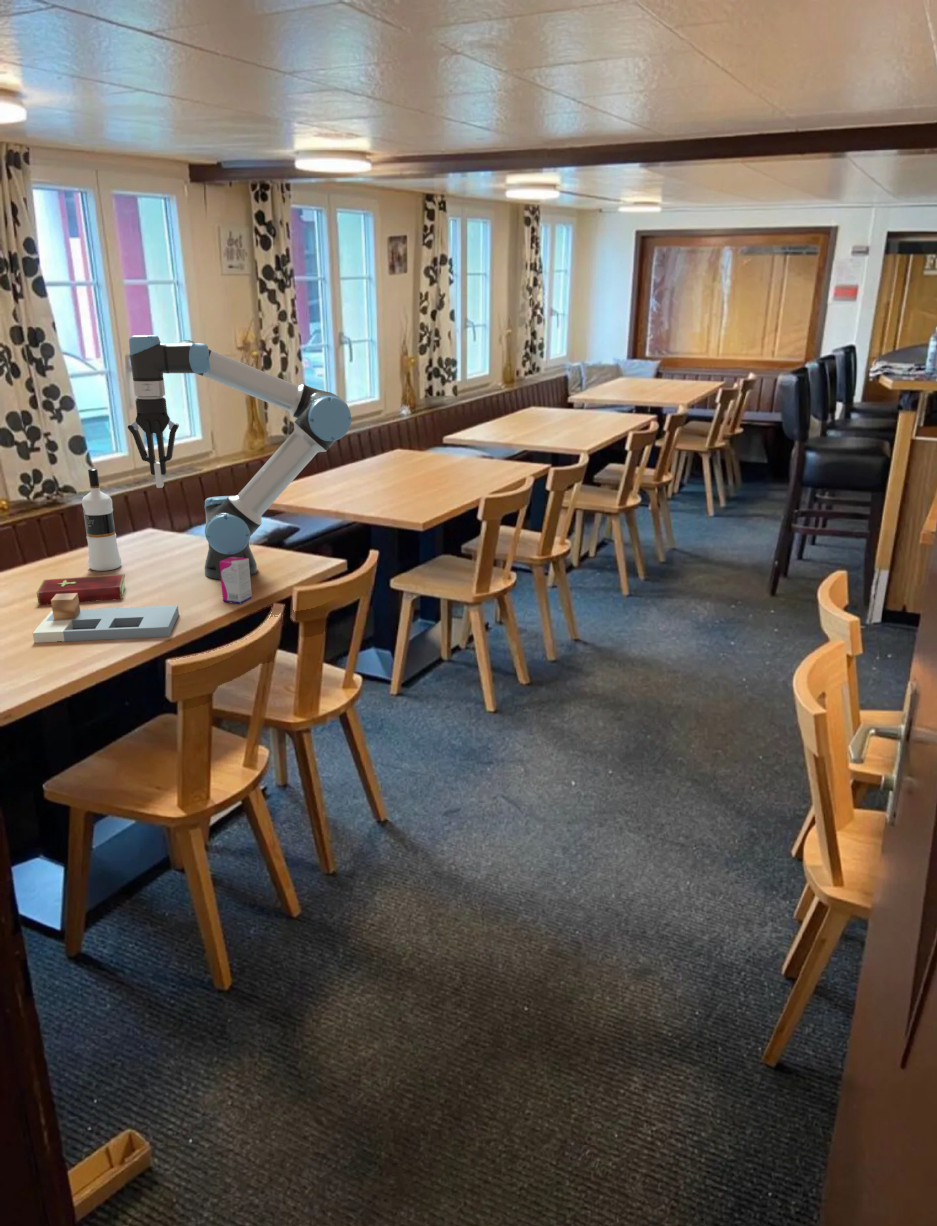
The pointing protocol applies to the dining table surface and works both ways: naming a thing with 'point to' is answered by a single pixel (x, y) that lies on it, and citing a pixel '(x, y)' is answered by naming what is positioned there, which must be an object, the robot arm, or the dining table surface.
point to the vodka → (100, 527)
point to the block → (65, 606)
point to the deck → (109, 624)
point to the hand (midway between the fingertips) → (160, 486)
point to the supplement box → (235, 580)
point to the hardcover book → (83, 588)
